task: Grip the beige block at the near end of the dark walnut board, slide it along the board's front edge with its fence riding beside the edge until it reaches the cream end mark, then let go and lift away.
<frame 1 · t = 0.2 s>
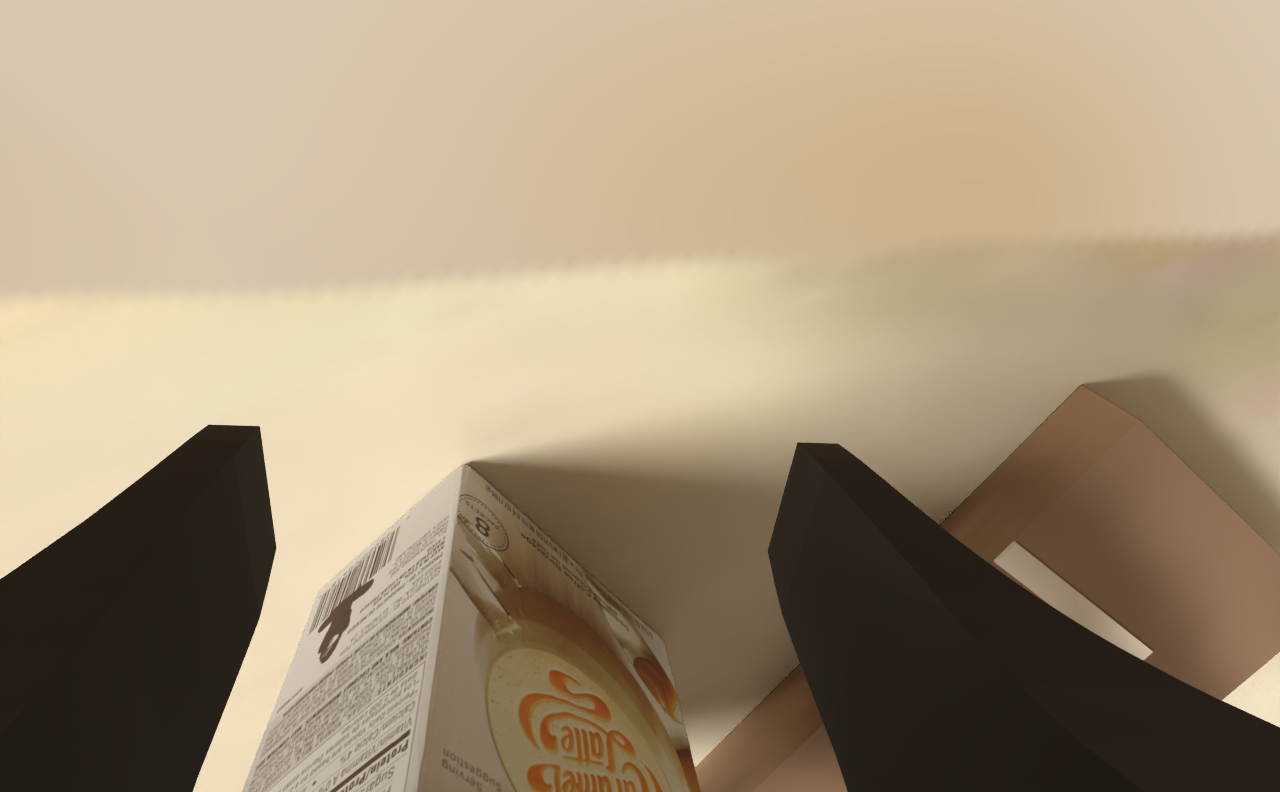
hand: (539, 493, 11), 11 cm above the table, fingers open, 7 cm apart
walnut board: (915, 725, 29), on the table
coffee box: (497, 611, 25), on the table
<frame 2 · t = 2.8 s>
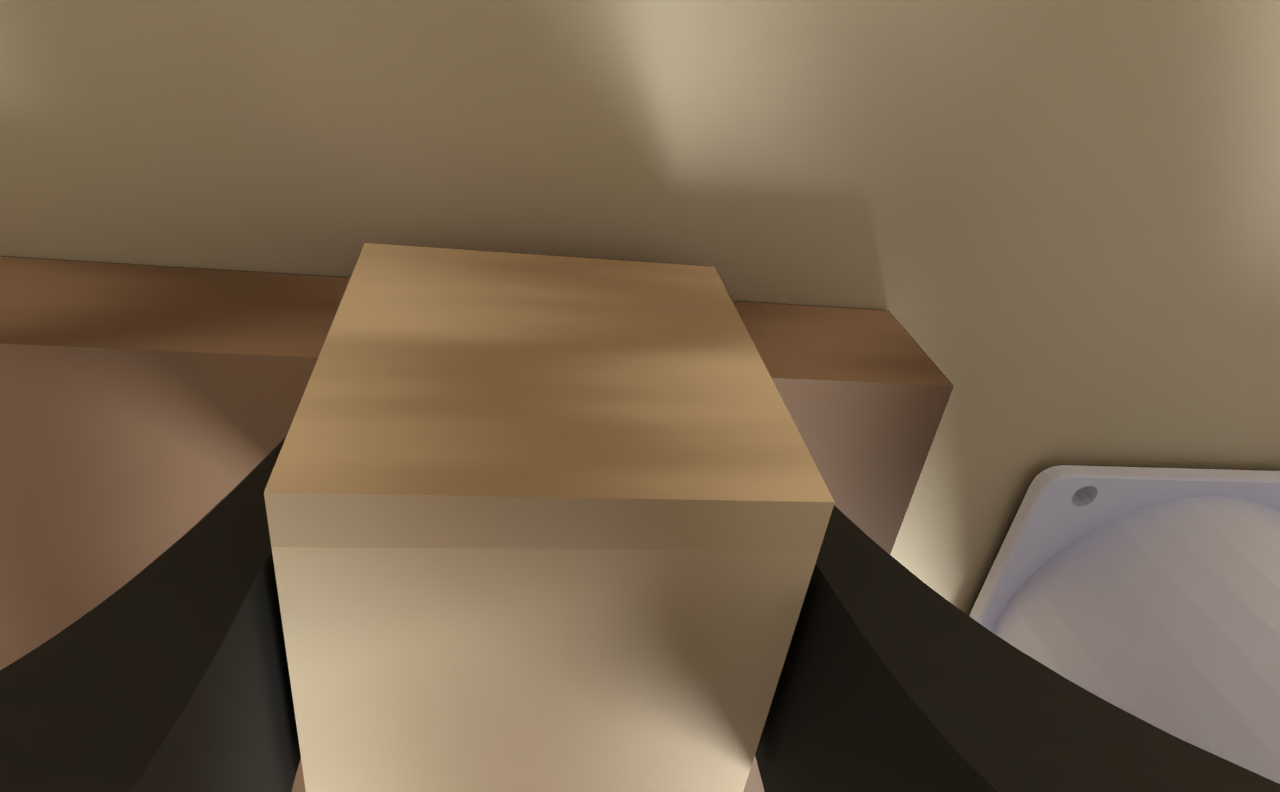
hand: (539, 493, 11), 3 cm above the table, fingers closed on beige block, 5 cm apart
beige block: (537, 463, 12), point 2 cm above the table, touching gripper, walnut board
walnut board: (189, 545, 15), on the table
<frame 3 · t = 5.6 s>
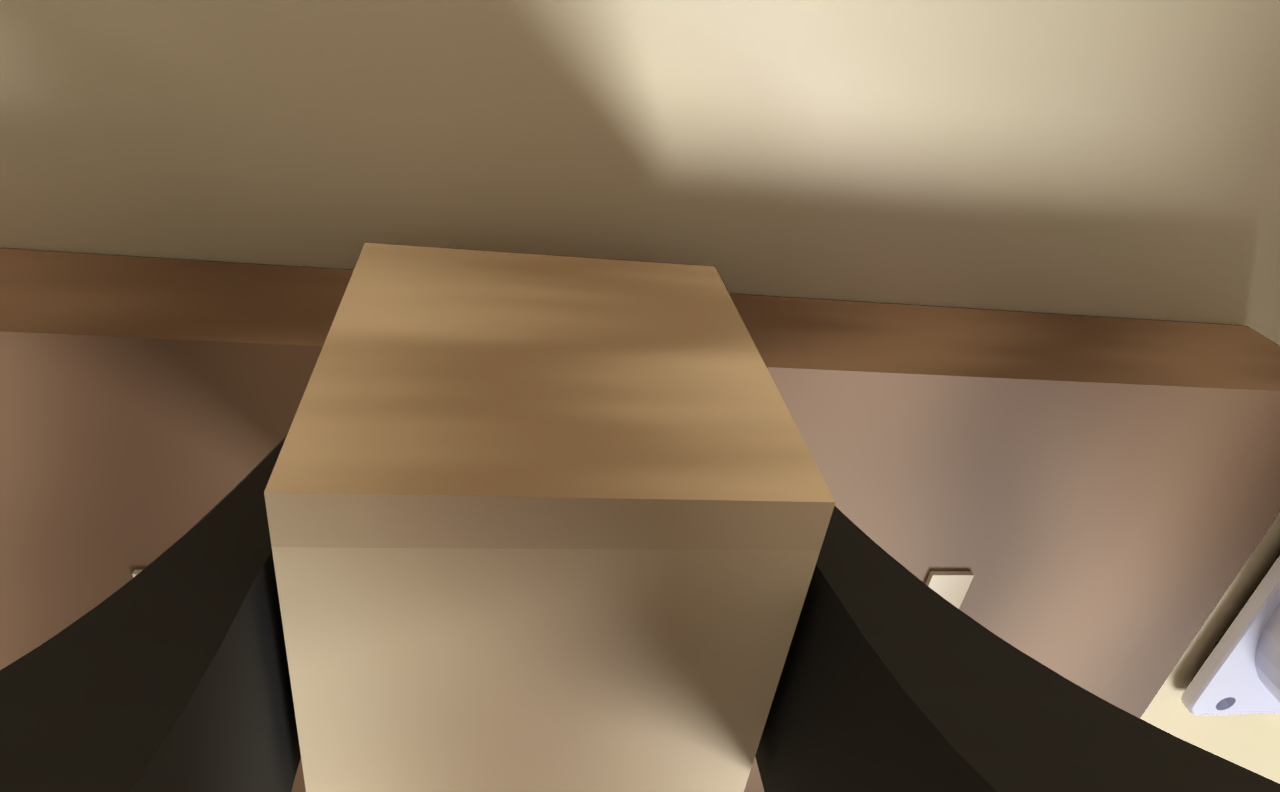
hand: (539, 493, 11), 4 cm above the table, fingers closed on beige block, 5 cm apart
beige block: (537, 463, 12), point 3 cm above the table, touching gripper
walnut board: (598, 537, 17), on the table
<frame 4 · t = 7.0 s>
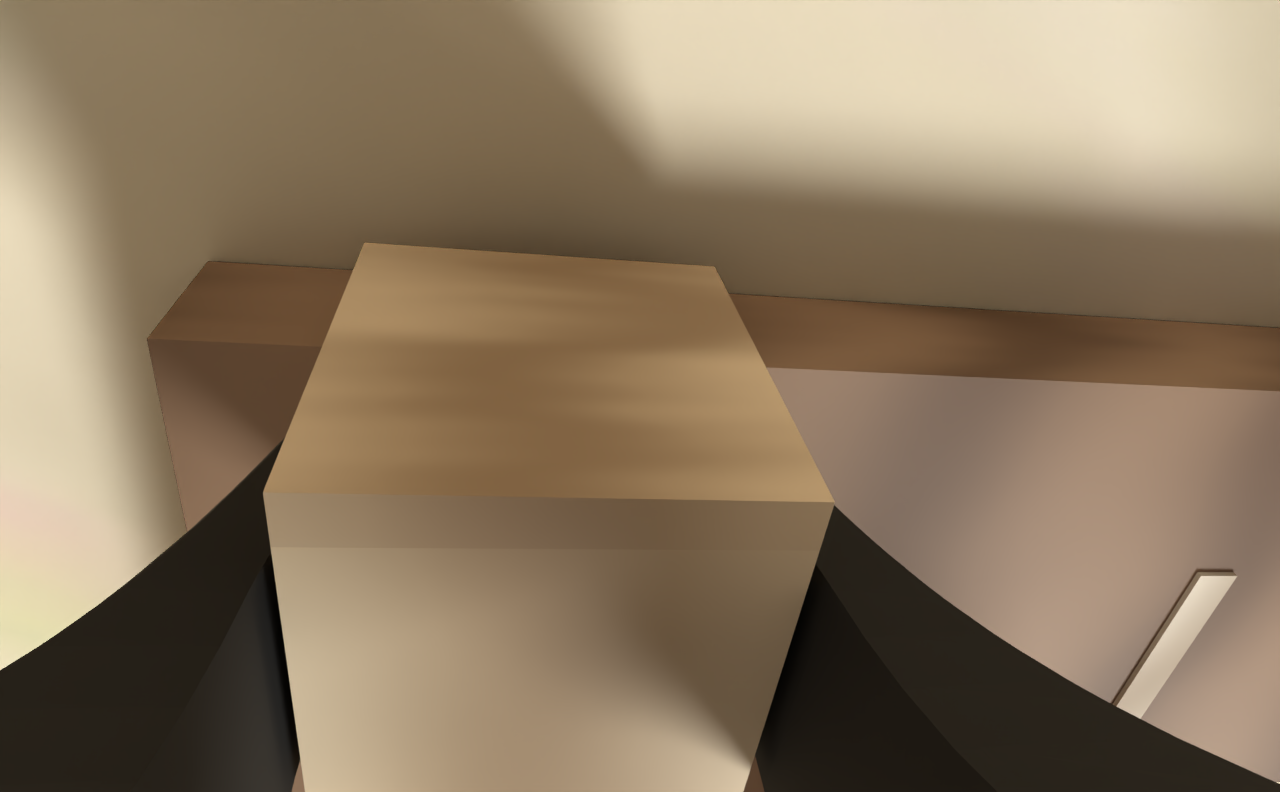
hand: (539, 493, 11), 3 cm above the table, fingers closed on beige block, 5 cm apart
beige block: (537, 463, 12), point 3 cm above the table, touching gripper
walnut board: (853, 540, 18), on the table
when the fingers open (3 cm above the table, at t = 8.2 s): beige block stays where it is, resting on walnut board.
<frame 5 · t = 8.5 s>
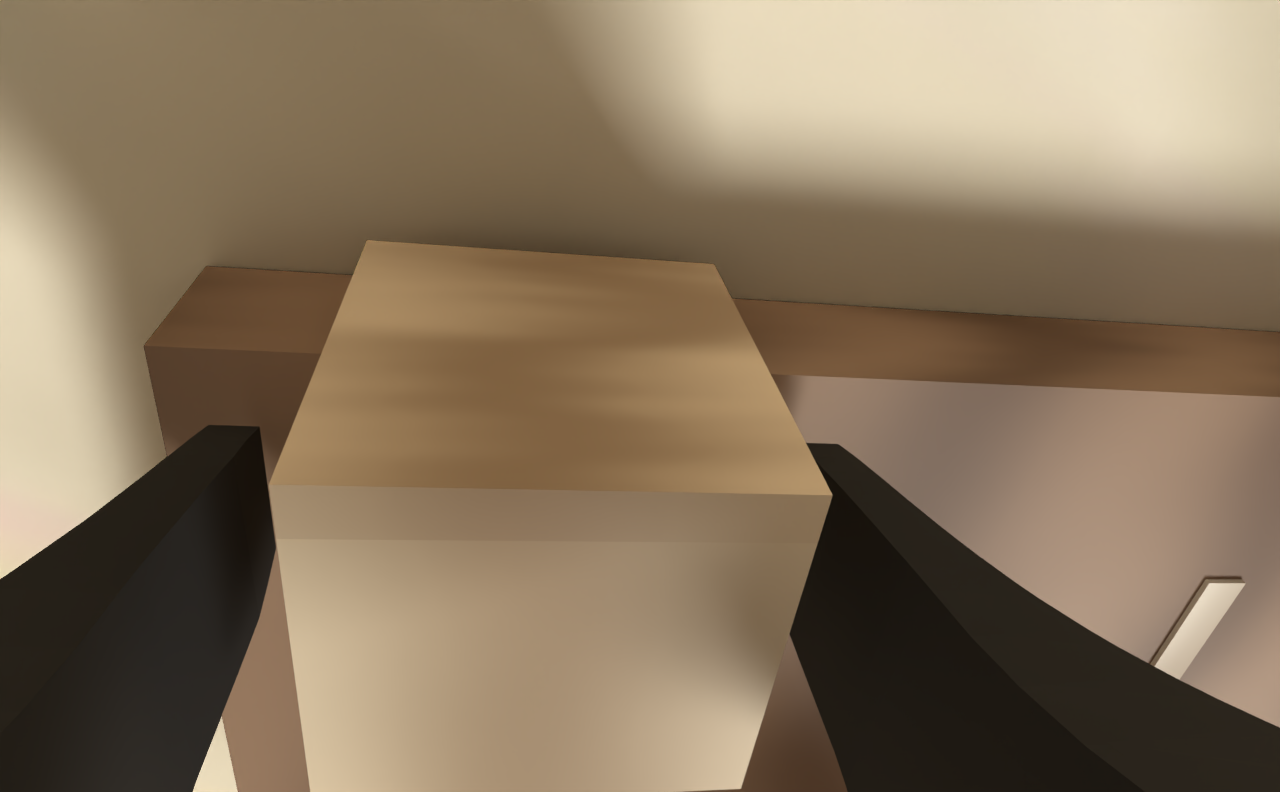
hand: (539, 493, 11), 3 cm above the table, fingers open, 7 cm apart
beige block: (538, 459, 12), point 2 cm above the table, touching walnut board
walnut board: (857, 546, 17), on the table
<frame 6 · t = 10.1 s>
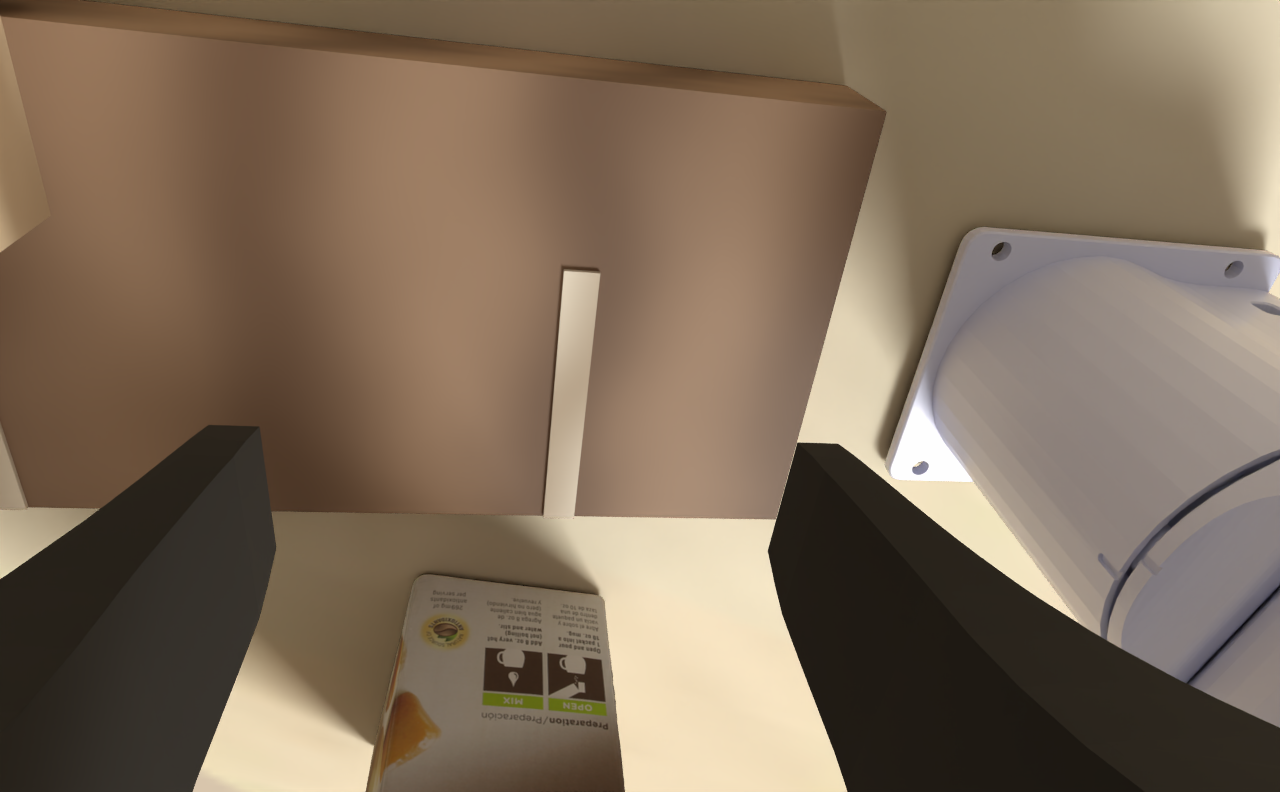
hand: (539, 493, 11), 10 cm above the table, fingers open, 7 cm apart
walnut board: (323, 269, 20), on the table
coffee box: (483, 671, 29), on the table
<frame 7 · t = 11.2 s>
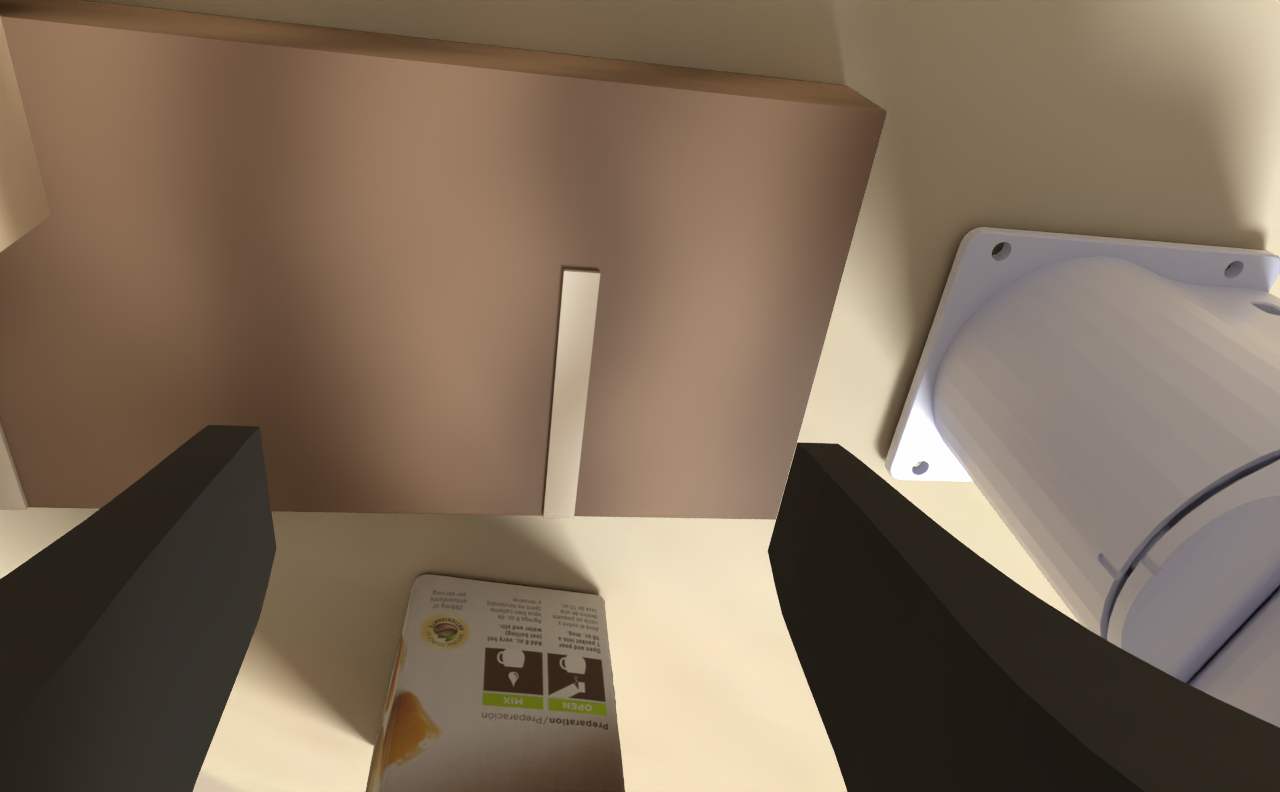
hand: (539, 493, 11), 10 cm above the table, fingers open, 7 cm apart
walnut board: (323, 269, 20), on the table
coffee box: (483, 671, 29), on the table
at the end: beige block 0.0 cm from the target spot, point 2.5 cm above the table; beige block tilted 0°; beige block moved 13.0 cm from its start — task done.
